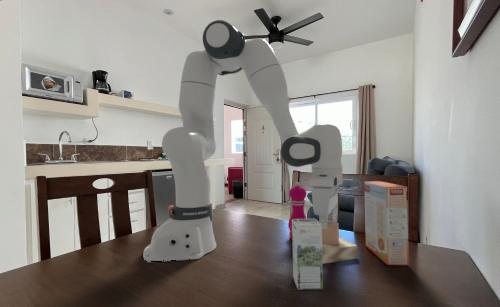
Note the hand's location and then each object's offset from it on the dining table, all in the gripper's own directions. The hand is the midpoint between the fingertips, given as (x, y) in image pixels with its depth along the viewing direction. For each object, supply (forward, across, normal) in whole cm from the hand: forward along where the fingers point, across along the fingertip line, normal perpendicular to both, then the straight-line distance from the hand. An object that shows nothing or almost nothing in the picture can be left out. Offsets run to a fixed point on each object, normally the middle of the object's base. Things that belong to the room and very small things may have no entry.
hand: (327, 224), depth 73 cm
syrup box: (+9, +20, -1) cm, 22 cm away
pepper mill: (+9, -9, -12) cm, 17 cm away
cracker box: (+9, -5, +15) cm, 18 cm away
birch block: (+9, 0, 0) cm, 9 cm away
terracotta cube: (+5, 0, 0) cm, 5 cm away
